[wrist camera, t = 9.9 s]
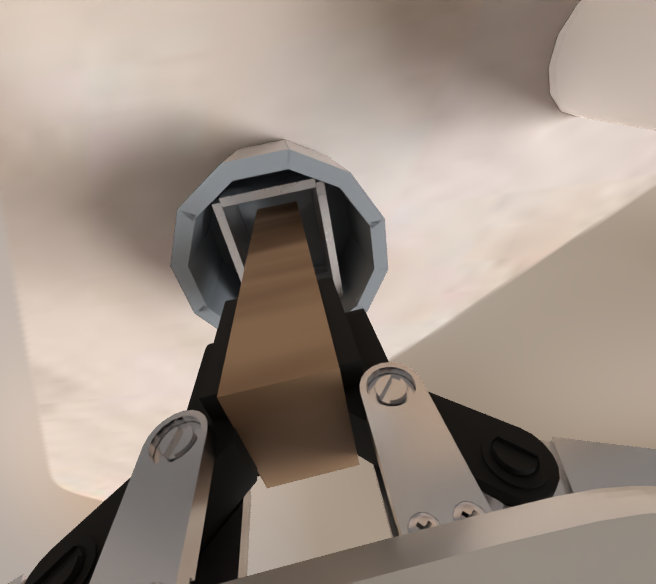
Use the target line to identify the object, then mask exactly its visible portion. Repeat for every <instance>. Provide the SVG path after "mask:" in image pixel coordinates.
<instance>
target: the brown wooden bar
mask: <svg viewBox="0 0 656 584" xmlns="http://www.w3.org/2000/svg"><path fill="white" fill-rule="evenodd" d="M217 398H218V400H219V402H220V404H221V406H222V408H223V409H224V411H225V413H226V415H227V417H228V418H229V420H230V422H231V424H232V426H233V427H234V428H235V429H236V431H237V432H238V434H239V436H240V438H241V440H242V441H243V443H244V445H245V447H246V449H247V450H248V452H249V454H250V456H251V458H252V459H253V461H254V463H255V465H256V467H257V468H258V469H257V471H258V473H259V475H260V476H261V478H262V480H263V482H264V483H265V485H266V487H267V488H270V487H274V486H277V485H282V484H285V483H289V482H293V481H297V480H301V479H305V478H309V477H313V476H317V475H321V474H325V473H329V472H333V471H336V470H341V469H344V468H348V467H353V466H357V465H359V461H358V456H357V451H356V446H355V442H354V437H353V432H352V428H351V423H350V418H349V414H348V409H347V404H346V397H345V393H344V388H343V383H342V378H341V373H340V368H339V364H338V361H337V357H336V353H335V349H334V345H333V341H332V337H331V333H330V329H329V326H328V322H327V318H326V314H325V310H324V306H323V302H322V298H321V294H320V290H319V287H318V283H317V279H316V275H315V271H314V267H313V263H312V259H311V255H310V252H309V248H308V244H307V240H306V236H305V232H304V228H303V224H302V220H301V217H300V213H299V209H298V205H297V201H294V202H290V203H285V204H280V205H275V206H271V207H266V208H261V209H257V213H256V217H255V222H254V227H253V231H252V236H251V241H250V245H249V250H248V255H247V259H246V264H245V268H244V273H243V278H242V282H241V287H240V292H239V296H238V301H237V306H236V310H235V315H234V320H233V324H232V329H231V334H230V338H229V343H228V348H227V352H226V357H225V362H224V366H223V371H222V376H221V380H220V385H219V390H218V394H217Z"/></svg>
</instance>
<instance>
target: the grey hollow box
mask: <svg viewBox="0 0 656 584" xmlns="http://www.w3.org/2000/svg"><path fill="white" fill-rule="evenodd" d="M310 188H311V191H312V196H313V202H314V207H315V212H316V217H317V222H318V227H319V232H320V237H321V242H322V248H323V253H324V258H325V263H326V265H324V266H320V267H315V268H314V271H315V275H316V279H317V280H320V279H324V278H328V277H332V278H333V281H334V284H335V287H336V289H337V292H338V295H339V297H342V296H343V290H342V284H341V278H340V273H339V267H338V261H337V255H336V249H335V243H334V237H333V232H332V226H331V220H330V214H329V208H328V202H327V196H326V191H325V185H324V182H323V181H320V180H317V179H315V178H312V177H309V176H306V175H304V174H301V173H298V172H295V171H292V170H286V171H281V172H276V173H271V174H267V175H262V176H257V177H252V178H247V179H243V180H238V181H233V182H231V183H230V184H229V185H228V186H227V187H226V188H225V189H224V190H223V191H222V192H221V193H220V194H219V196H218V197H217V198H216V200H215V201H214V202H213V204H212V207H213V210H214V212H215V215H216V217H217V220H218V223H219V225H220V228H221V231H222V233H223V236H224V238H225V241H226V244H227V246H228V249H229V252H230V254H231V257H232V260H233V262H234V265H235V267H236V270H237V273H238V275H239V278H240V281H241V282H242V278H243V273H244V268H245V264H246V259H247V255H248V250H249V245H250V239H249V236H248V233H247V230H246V227H245V224H244V221H243V218H242V215H241V212H240V209H239V206H238V204H240V203H244V202H249V201H254V200H258V199H263V198H268V197H272V196H277V195H282V194H287V193H291V192H296V191H301V190H305V189H310Z"/></svg>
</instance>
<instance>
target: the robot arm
mask: <svg viewBox="0 0 656 584" xmlns="http://www.w3.org/2000/svg"><path fill="white" fill-rule="evenodd" d="M317 283H318V287H319V290H320V294H321V298H322V302H323V306H324V310H325V314H326V318H327V322H328V326H329V329H330V333H331V337H332V341H333V345H334V349H335V353H336V357H337V361H338V364H339V368H340V373H341V378H342V383H343V388H344V393H345V397H346V404H347V409H348V414H349V418H350V423H351V428H352V432H353V437H354V442H355V446H356V451H357V454H358V456H360V457H362V458H364V459H365V460H367V461H369V462H370V463H372V464H373V469H374V472H375V476H376V480H377V484H378V488H379V491H380V495H381V499H382V503H383V507H384V510H385V514H386V518H387V522H388V525H389V529H390V533H391V537H392V538H389V539H385V540H382V541H377V542H374V543H370V544H366V545H362V546H358V547H355V548H351V549H348V550H343V551H340V552H336V553H332V554H328V555H325V556H321V557H317V558H313V559H310V560H306V561H302V562H299V563H295V564H291V565H288V566H284V567H280V568H276V569H273V570H269V571H265V572H262V573H257V574H254V575H250V576H247V569H248V549H249V530H250V510H251V491H250V489H251V487H252V486H253V485H254V484H255V482H256V481H257V476H260V475H259V473H258V471H257V469H258V468H257V467H256V465H255V463H254V461H253V459H252V458H251V456H250V454H249V452H248V450H247V449H246V447H245V445H244V443H243V441H242V440H241V438H240V436H239V434H238V432H237V431H236V429H235V428H234V427H233V426H232V424H231V422H230V420H229V418H228V417H227V415H226V413H225V411H224V409H223V408H222V406H221V404H220V402H219V400H218V398H217V394H218V390H219V385H220V380H221V376H222V371H223V366H224V362H225V357H226V352H227V348H228V343H229V338H230V334H231V329H232V324H233V320H234V315H235V310H236V306H237V301H238V298H236V299H232V300H227V301H225V304H224V307H223V311H222V315H221V318H220V322H219V325H218V329H217V333H216V336H215V340H214V343H212V344H209V345H207V347H206V349H205V352H204V356H203V359H202V362H201V366H200V369H199V372H198V375H197V379H196V382H195V385H194V389H193V392H192V395H191V398H190V402H189V405H188V408H187V411H182V412H179V413H177V414H174V415H172V416H171V417H169V418H167V419H166V420H164V421H163V422H162V423H161V424H159V425H158V426H157V427H156V428H155V429H154V430H153V431H152V433H151V434H150V435H149V436H148V438H147V440H146V442H145V443H144V445H143V447H142V450H141V453H140V455H139V458H138V460H137V463H136V465H135V468H134V471H133V473H132V476H131V478H129V479H128V480H127V481H126V482H125V483H124V484H123V485H122V486H121V487H119V488H118V489H117V490H116V491H115V492H114V493H113V494H112V495H111V496H110V497H108V498H107V499H106V500H105V501H104V502H103V503H102V504H101V505H100V506H99V507H97V509H95V510H94V511H93V512H92V513H91V514H90V515H89V516H88V517H86V518H85V519H84V520H83V521H82V522H81V523H80V524H79V525H78V526H77V527H75V528H74V529H73V530H72V531H71V532H70V533H69V534H68V535H67V536H65V537H64V538H63V539H62V540H61V541H60V542H59V543H58V544H57V545H56V546H55V547H53V548H52V549H51V550H50V551H49V552H48V554H46V556H45V557H44V558H43V559H42V560H41V561H40V562H39V563H38V565H37V566H36V567H35V569H34V570H33V571H32V573H31V574H30V575H29V577H28V576H25V575H21V576H19V577H18V578H16V579H14V580H13V581H11V582H10V583H8V584H656V449H650V448H641V447H633V446H624V445H616V444H608V443H599V442H591V441H582V440H574V439H565V438H557V437H552V438H551V441H542V440H539V439H538V438H536V437H535V436H533V435H532V434H531V433H529V432H527V431H525V430H523V429H521V428H519V427H516V426H514V425H511V424H509V423H506V422H504V421H501V420H498V419H496V418H493V417H491V416H488V415H486V414H483V413H481V412H478V411H476V410H473V409H471V408H468V407H466V406H463V405H461V404H458V403H455V402H453V401H450V400H448V399H445V398H443V397H440V396H438V395H435V394H433V393H430V392H428V391H427V389H426V388H425V385H424V384H423V382H422V380H421V378H420V377H419V376H418V374H417V373H416V372H415V371H414V370H412V369H411V368H410V367H408V366H406V365H403V364H400V363H394V362H389V361H388V359H387V357H386V355H385V353H384V351H383V348H382V346H381V344H380V342H379V340H378V338H377V336H376V333H375V331H374V329H373V327H372V325H371V323H370V321H369V318H368V316H367V314H366V312H365V310H364V309H363V308H362V309H358V310H354V311H349V312H344V309H343V306H342V303H341V301H340V298H339V295H338V292H337V289H336V287H335V284H334V281H333V278H332V277H328V278H324V279H320V280H317Z"/></svg>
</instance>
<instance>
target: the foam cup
mask: <svg viewBox="0 0 656 584" xmlns="http://www.w3.org/2000/svg"><path fill="white" fill-rule="evenodd" d="M549 83H550V95H551V96H552V98H553V100H554V101H555V103H556V104H557V106H558V107H559V109H560V111H561V112H565V113H568V114H571V115H574V116H578V117H584V118H587V119H592V120H598V121H604V122H609V123H615V124H621V125H627V126H632V127H638V128H644V129H650V130H655V131H656V0H581V1H580V2H579V3H578V4H577V6H576V7H575V9H574V10H573V12H572V14H571V15H570V17H569V18H568V20H567V22H566V23H565V25H564V26H563V28H562V30H561V31H560V33H559V34H558V37H557V41H556V44H555V47H554V51H553V54H552V58H551V61H550V65H549Z"/></svg>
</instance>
